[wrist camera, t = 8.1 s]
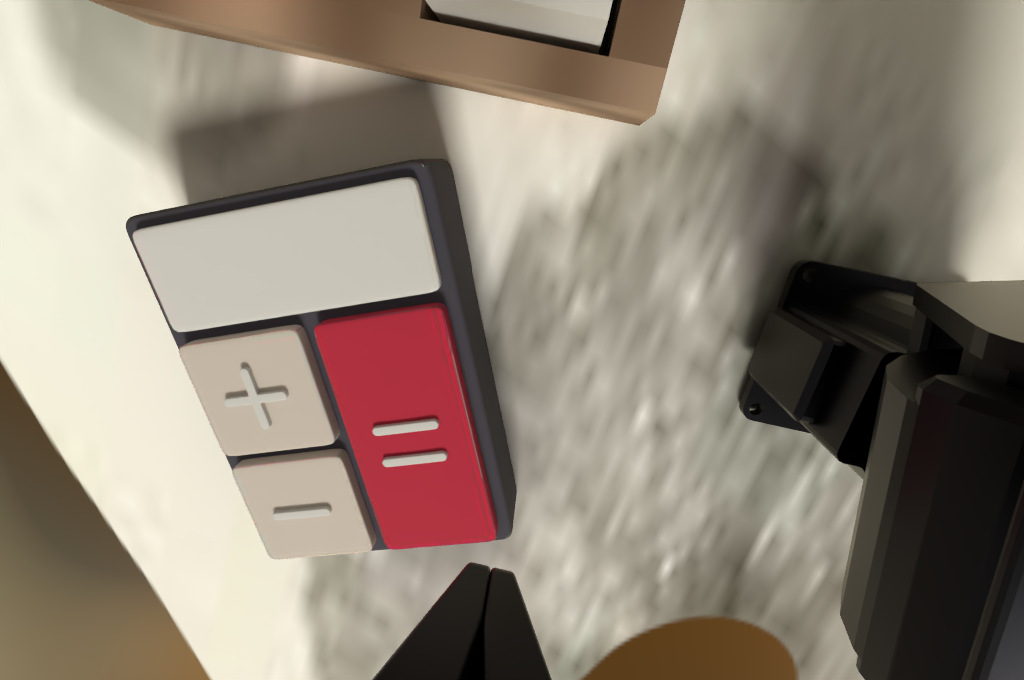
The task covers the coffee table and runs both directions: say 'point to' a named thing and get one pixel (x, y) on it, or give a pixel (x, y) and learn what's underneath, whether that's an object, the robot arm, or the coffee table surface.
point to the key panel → (446, 47)
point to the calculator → (340, 358)
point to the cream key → (532, 19)
